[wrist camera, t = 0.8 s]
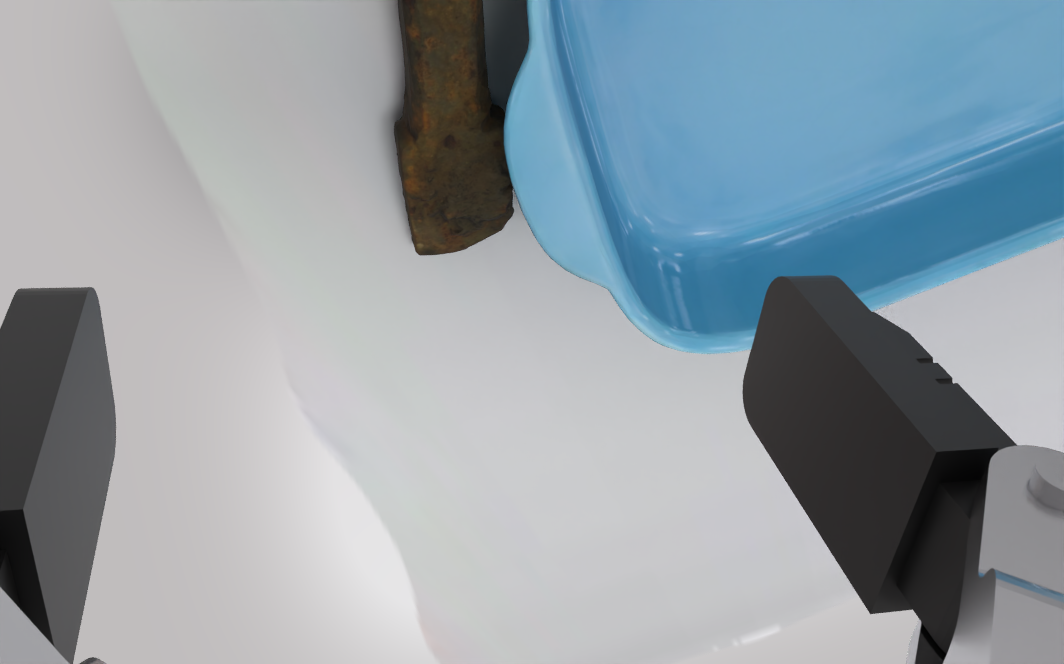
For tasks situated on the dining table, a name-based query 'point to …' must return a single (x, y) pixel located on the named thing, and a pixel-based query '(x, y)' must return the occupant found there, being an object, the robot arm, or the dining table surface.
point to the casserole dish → (784, 148)
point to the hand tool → (450, 129)
